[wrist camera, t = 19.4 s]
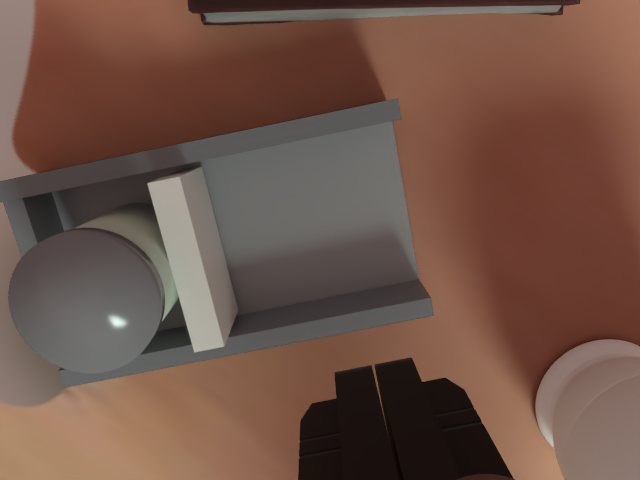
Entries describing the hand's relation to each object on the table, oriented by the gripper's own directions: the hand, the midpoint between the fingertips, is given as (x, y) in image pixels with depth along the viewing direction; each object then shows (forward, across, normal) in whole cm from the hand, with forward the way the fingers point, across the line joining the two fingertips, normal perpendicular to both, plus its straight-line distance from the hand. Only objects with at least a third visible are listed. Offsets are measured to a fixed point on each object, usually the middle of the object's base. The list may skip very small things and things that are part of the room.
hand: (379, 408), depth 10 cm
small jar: (+20, +11, 0) cm, 23 cm away
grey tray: (+21, +6, 0) cm, 22 cm away
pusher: (+20, +7, 0) cm, 21 cm away
